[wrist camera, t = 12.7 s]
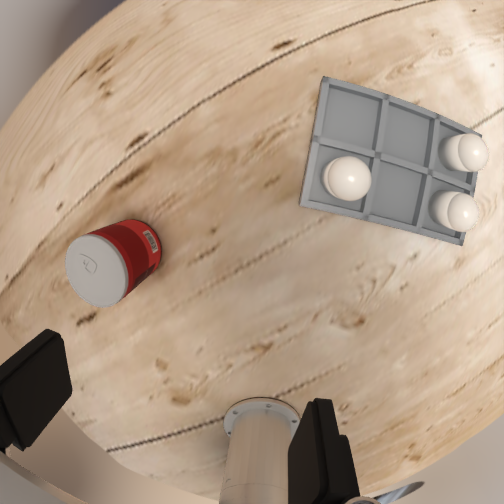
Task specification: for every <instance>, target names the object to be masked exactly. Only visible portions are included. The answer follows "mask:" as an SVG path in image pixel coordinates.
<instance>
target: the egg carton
mask: <svg viewBox="0 0 504 504" xmlns="http://www.w3.org/2000/svg"><path fill="white" fill-rule="evenodd" d="M468 133H471V134H475V135H478V136H479V137H481V138H482V135H481V134H479V133H477V132H475V131H473V130H471V129H469V128H467V127H465V126H463V125H461V124H459V123H457V122H455V121H452V120H450V119H448V118H446V117H444V116H441V115H439V114H437V113H435V112H432V111H430V110H427V109H425V108H423V107H420V106H418V105H415V104H412V103H410V102H407V101H404V100H402V99H399V98H396V97H393V96H390V95H388V94H385V93H382V92H379V91H375V90H372V89H369V88H366V87H362V86H359V85H356V84H352V83H349V82H345V81H341V80H337V79H333V78H329V77H325V76H323V78H322V80H321V84H320V90H319V96H318V102H317V108H316V114H315V120H314V125H313V131H312V136H311V142H310V147H309V153H308V158H307V163H306V169H305V174H304V179H303V184H302V189H301V194H300V199H299V205H300V206H303V207H308V208H313V209H317V210H322V211H326V212H331V213H335V214H340V215H344V216H349V217H353V218H357V219H361V220H366V221H370V222H374V223H378V224H382V225H386V226H390V227H394V228H398V229H402V230H406V231H410V232H413V233H417V234H421V235H425V236H428V237H432V238H435V239H439V240H443V241H446V242H450V243H453V244H457V245H460V246H463V242H464V238H465V234H466V232H458V231H455V230H453V229H450V228H447V227H444V226H442V225H439V224H436V223H435V222H433V221H432V219H431V218H430V216H429V213H428V202H429V199H430V197H431V196H432V194H433V193H434V192H436V191H438V190H447V191H454V192H461V193H466V194H468V195H470V196H472V197H474V192H475V186H476V180H477V174H478V171H477V172H467V171H450V170H448V169H446V168H445V167H444V166H443V165H442V164H441V162H440V160H439V157H438V145H439V143H440V141H441V140H442V139H443V138H445V137H449V136H455V135H462V134H468ZM345 156H353V157H356V158H359V159H360V160H362V161H363V162H364V163H365V164H366V165H367V166H368V168H369V170H370V172H371V177H372V182H371V187H370V189H369V191H368V192H367V194H366V195H365V196H364V197H362V198H361V199H358V200H355V201H345V200H342V199H339V198H336V197H334V196H331V195H330V194H328V193H327V192H326V191H325V190H324V189H323V187H322V184H321V181H320V174H321V170H322V168H323V167H324V165H325V164H326V163H327V162H329V161H331V160H333V159H337V158H340V157H345Z"/></svg>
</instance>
